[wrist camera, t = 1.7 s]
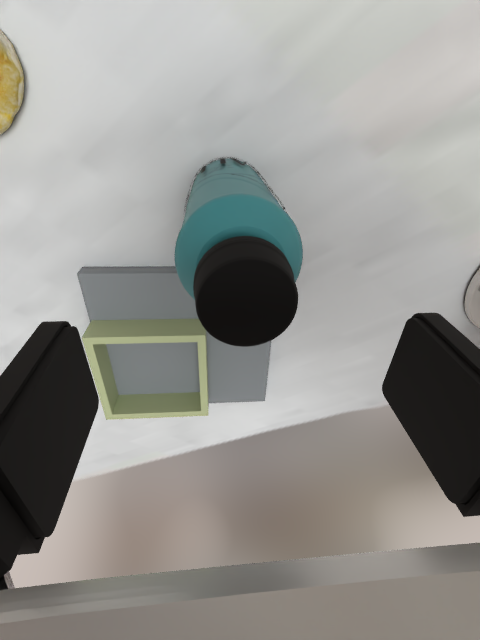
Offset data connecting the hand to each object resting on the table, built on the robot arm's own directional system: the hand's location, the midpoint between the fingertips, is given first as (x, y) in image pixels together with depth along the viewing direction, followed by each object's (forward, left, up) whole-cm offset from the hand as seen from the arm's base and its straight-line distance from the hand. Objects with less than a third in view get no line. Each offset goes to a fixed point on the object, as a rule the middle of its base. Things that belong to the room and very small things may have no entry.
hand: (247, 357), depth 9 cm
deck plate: (+4, +16, -23) cm, 28 cm away
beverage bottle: (0, 0, -23) cm, 23 cm away
